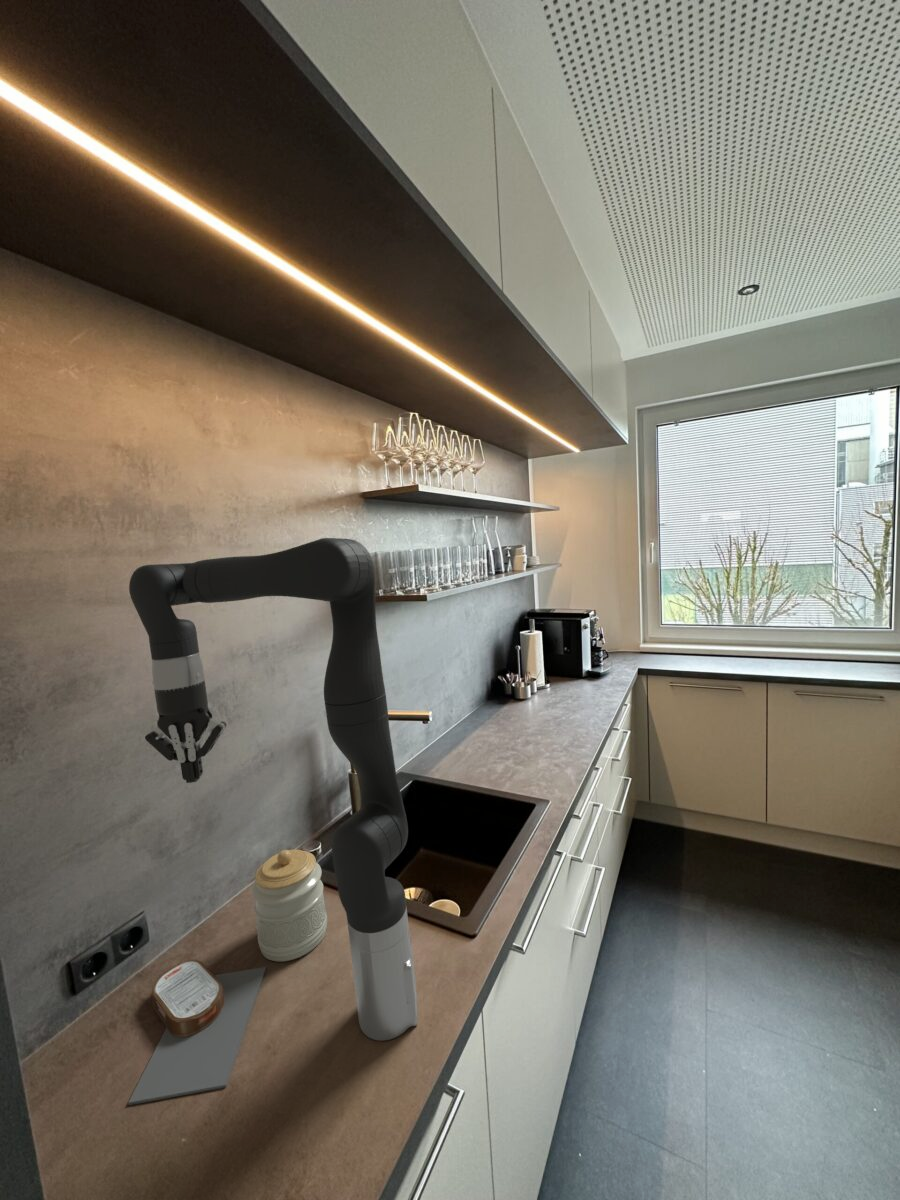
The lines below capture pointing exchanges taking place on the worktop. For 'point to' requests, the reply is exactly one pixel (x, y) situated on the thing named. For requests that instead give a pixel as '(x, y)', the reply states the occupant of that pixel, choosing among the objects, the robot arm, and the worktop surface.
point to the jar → (289, 905)
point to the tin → (187, 998)
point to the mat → (202, 1046)
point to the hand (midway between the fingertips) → (193, 780)
